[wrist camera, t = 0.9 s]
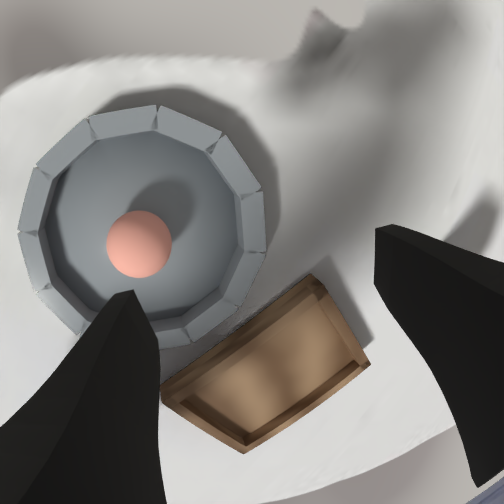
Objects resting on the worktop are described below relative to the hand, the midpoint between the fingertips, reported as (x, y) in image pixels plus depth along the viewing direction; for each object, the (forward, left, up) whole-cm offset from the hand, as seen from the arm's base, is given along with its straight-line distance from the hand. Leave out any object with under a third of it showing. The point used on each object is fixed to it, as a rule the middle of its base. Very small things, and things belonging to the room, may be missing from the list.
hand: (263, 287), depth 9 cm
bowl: (-4, +1, -14) cm, 14 cm away
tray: (-4, -16, -14) cm, 22 cm away
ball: (-4, +1, -13) cm, 14 cm away
